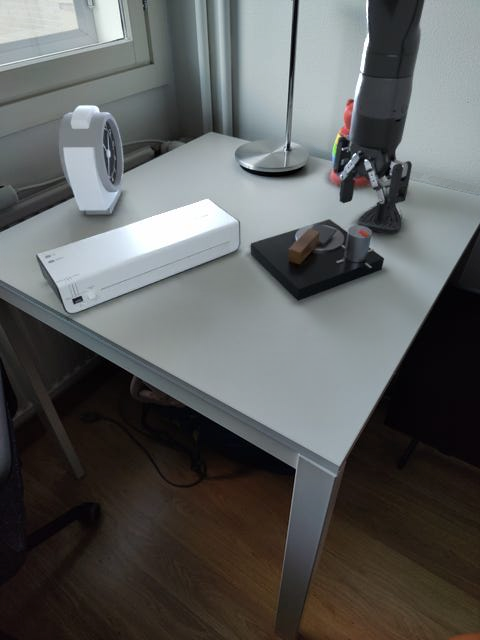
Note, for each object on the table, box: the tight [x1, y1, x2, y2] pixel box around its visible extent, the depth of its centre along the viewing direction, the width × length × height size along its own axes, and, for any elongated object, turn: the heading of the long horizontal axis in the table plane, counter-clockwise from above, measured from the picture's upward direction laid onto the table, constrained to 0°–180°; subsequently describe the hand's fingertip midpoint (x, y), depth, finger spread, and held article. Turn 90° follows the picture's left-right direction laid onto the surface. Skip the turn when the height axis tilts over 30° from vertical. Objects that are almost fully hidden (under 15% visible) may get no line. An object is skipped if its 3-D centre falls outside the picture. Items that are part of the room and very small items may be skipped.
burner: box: [296, 224, 344, 252], centre depth 86 cm, size 9×9×1 cm
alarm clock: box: [58, 105, 125, 215], centre depth 97 cm, size 18×8×20 cm, turn 179°
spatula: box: [289, 222, 337, 264], centre depth 83 cm, size 12×4×3 cm, turn 145°
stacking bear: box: [329, 98, 371, 188], centre depth 105 cm, size 11×10×18 cm
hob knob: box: [344, 225, 373, 262], centre depth 80 cm, size 4×4×5 cm
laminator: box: [35, 198, 241, 315], centre depth 82 cm, size 34×12×6 cm, turn 124°
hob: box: [250, 218, 385, 302], centre depth 84 cm, size 18×17×3 cm
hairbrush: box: [356, 190, 403, 235], centre depth 97 cm, size 8×4×25 cm
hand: (362, 212), depth 76 cm, fingers open, 8 cm apart
